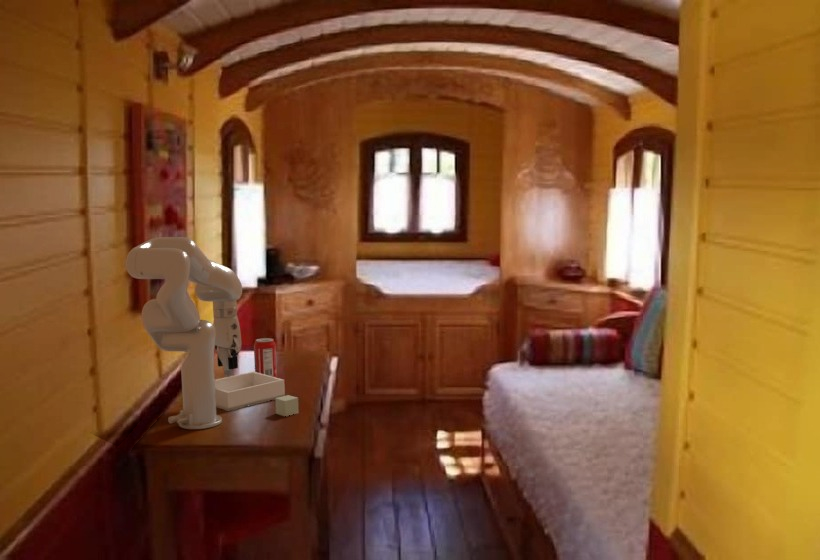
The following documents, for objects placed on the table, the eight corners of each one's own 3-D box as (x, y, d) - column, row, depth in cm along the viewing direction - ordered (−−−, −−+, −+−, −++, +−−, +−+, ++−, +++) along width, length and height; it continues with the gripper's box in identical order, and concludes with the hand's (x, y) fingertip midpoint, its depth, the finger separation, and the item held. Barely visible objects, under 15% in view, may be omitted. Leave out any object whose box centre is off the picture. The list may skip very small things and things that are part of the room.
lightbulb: (233, 379, 256) (231, 346, 255) (215, 379, 257) (214, 346, 256) (241, 375, 262) (239, 342, 261) (224, 374, 263) (222, 342, 262)
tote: (228, 411, 250) (227, 392, 249) (198, 401, 262) (197, 383, 262) (285, 397, 265) (284, 379, 265) (254, 388, 278) (253, 371, 277)
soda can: (267, 383, 284) (265, 342, 283) (250, 380, 288) (249, 340, 287) (281, 378, 291) (279, 338, 289) (265, 376, 295) (263, 336, 293)
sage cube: (285, 416, 243) (285, 401, 242) (275, 413, 246) (275, 398, 246) (298, 413, 246) (298, 397, 246) (288, 410, 250) (288, 395, 249)
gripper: (249, 314, 253) (252, 369, 256) (220, 308, 265) (223, 361, 268) (229, 317, 248) (232, 373, 250) (201, 311, 260) (203, 365, 262)
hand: (227, 366), depth 259 cm, fingers closed on lightbulb, 5 cm apart
